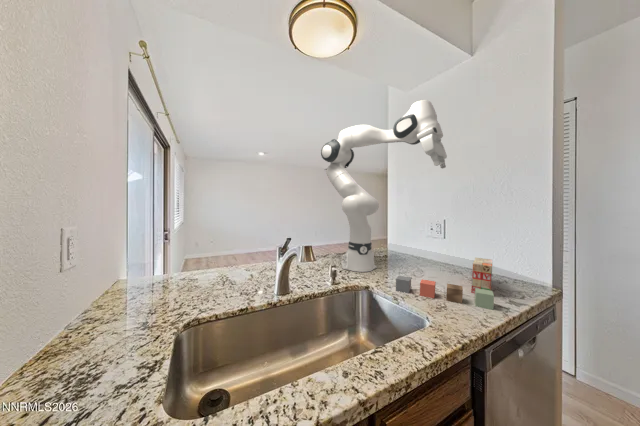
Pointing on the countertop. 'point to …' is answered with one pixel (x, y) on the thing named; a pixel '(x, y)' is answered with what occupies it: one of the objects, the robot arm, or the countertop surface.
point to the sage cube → (484, 298)
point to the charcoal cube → (403, 284)
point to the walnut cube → (454, 293)
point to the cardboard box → (481, 274)
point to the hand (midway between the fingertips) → (440, 166)
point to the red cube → (427, 288)
